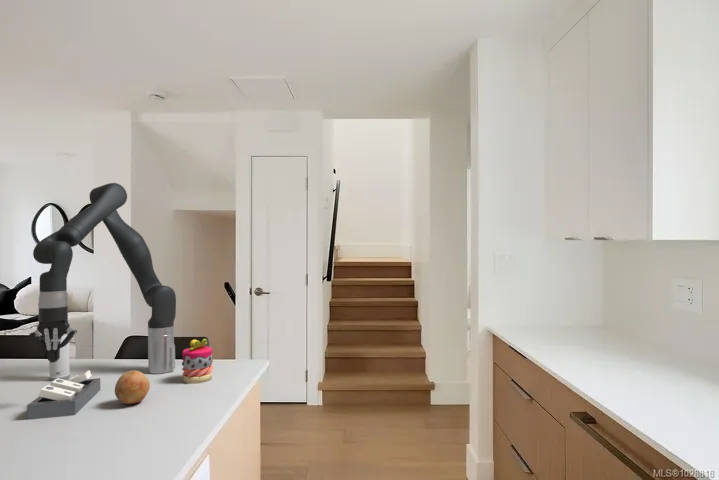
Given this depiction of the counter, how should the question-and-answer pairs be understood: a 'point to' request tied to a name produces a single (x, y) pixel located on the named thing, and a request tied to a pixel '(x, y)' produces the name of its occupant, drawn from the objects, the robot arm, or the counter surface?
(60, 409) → the power strip
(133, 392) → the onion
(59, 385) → the rocker middle
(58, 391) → the rocker
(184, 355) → the cake
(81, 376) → the rocker
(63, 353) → the travel mug
